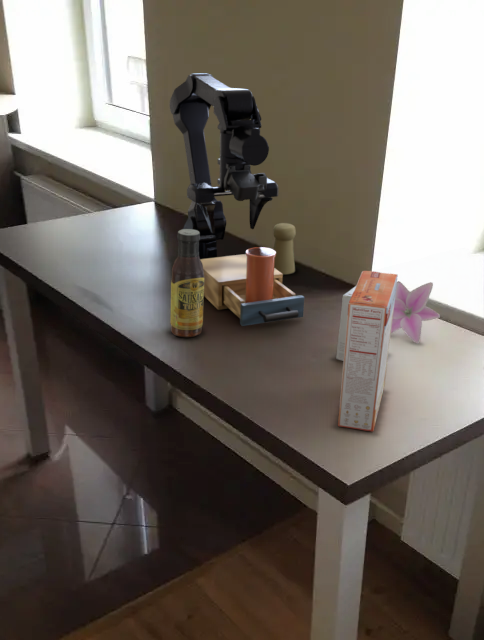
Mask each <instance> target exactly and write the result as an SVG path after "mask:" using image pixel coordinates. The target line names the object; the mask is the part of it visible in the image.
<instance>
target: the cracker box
mask: <svg viewBox="0 0 484 640" xmlns="http://www.w3.org/2000/svg"><path fill="white" fill-rule="evenodd" d="M398 277H399V276H398V274H397V273H389V272H388V273H387V272H379V271H373V270H362V271H361V273H360V275H359V278H358V281H357V283H356V285H355V286H356V288H355V290H354V292H353V294H352V296H351V299H350V301H349V304H348V316H347V326H346V339H345V350H344V361H343V362H342V374H341V384H340V395H339V396H340V398H339V410H338V418H337V419H338V422H337V426H338V427H340V428H347V429H353V430H360V431H366V432H374V430H375V427H376V423H377V419H378V415H379V411H380V407H381V402H382V398H383V395H384V391H385V384H386V383H385V382H386V376H387V375H386V374H387V368H388V367H387V366H388V358H389V351H390V350H389V349H390V343H391V335H392V333H391V327H392V319H393V311H394V303H395V295H396V286H397V282H398Z"/></svg>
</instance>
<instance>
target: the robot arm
mask: <svg viewBox="0 0 484 640" xmlns="http://www.w3.org/2000/svg"><path fill="white" fill-rule="evenodd" d="M211 107H213V114H214V115H215V117H216V119H217V121H218V124H217V130H219V158H217V165H219V178H217V185H219V186H213V185H212V178H211V172H210V165H209V157H208V151H207V145H206V144H207V143H206V138H205V137H206V136H205V128H206V126H207V123H208V120H209V119H210V118H209V117H210V116H209V115H210V114H209V113H210V112H209V111H210V110H211ZM169 111H170V114H171V115H172V118H173V119H172V120H173V122H174V125H175V126H176V128H177V129H178V130H179V131H180V133H181V134H182V137H183V141H184V143H183V144H184V148H185V149H184V150H185V156H186V162H187V168H188V169H187V170H188V176H189V183H190V184H189V185H188V186H187V188H186V197H187V198H188V199H189V200H191V203H190V205H189V207H188V210H187V217H188V218H187V219H186V220H185V221H186V222H185V223H184V225H183V227H182V229H193V230H197V231H199V232H200V240H199V247H198V252H199V258H200V259H208V258H216V257H218V247H217V244H218V243H217V242H218V240H219V241H220V240H221V241H223V240H224V238H225V234H226V228H227V219H226V218H227V217H226V215H225V214H224V205H223V202H222V201H221V200H218V199H217V198H216V197H221V196H222V197H224V196H233V197H234V199H235V200H236V201H238V202H244V201H248V200H249V229H250V230H255V227H256V225H257V223H258V220H259V217H260V215H261V212H262V210H263V209H264V206H265V205H266V204H267V203H269V202H271V201H272V200H273V198H277V197H279V189H280V188H279V185H278V183H277V182H276V181H274V180H272V179H270V178H268V176H267V174H266V173H265V172H260V173H252V171H251V166H252V167H253V166H259V165H261V164H263V163H264V162H265V161H266V159H267V158H268V156H269V151H270V146H269V143H268V141H267V139H266V138H265V137H264V136H263V135H261V128H262V122H261V121H262V116H261V113H260V111H259V107H258V105H257V103H256V98H255V97H254V95H253V93H252V91H251V90H250V89H247V88H239V87H237V88H236V87H235V88H234V87H230V86H228V85H226V84H225V83H223V82H221V81H219V80H218V79H216V78H215V77H214V76H213V75H212V74H209V72H208V73H203V72H201V73H191V74H188V75H187V77H186V80H185V81H183V82H182V83H180V84H179V86H177V87H176V88H174V89H173V92H172V94H171V97H170V100H169Z"/></svg>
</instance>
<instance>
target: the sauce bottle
mask: <svg viewBox="0 0 484 640" xmlns="http://www.w3.org/2000/svg"><path fill="white" fill-rule="evenodd" d="M176 238H177V241H178V248H177V249H178V250H177V257H176V258H175V260H174V261H173V265H172V267H171V279H170V319H169V321H170V325H171V326H170V331H171V333H172V334H173V335H174V336H176V337H181V338H193V337H196V336H198V335H199V336H200V334H201V333H202V328H203V324H204V298H205V296H204V272H203V264H202V262H201V260H200V258H199V252H198V247H199V240H200V232H199V231H197V230H193V229H183V228H182V229H179V230H178V231H177V236H176Z"/></svg>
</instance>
